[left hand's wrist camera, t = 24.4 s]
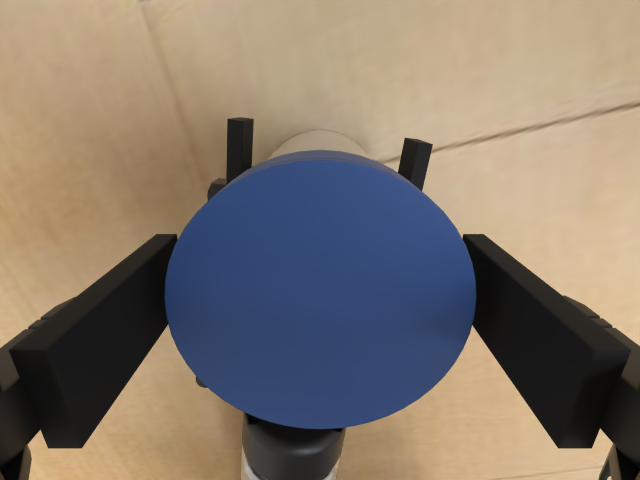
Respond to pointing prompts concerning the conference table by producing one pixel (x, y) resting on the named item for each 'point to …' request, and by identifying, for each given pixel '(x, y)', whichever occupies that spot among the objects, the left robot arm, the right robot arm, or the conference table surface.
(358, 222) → the lid
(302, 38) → the conference table surface
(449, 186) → the conference table surface
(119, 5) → the conference table surface
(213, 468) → the conference table surface
